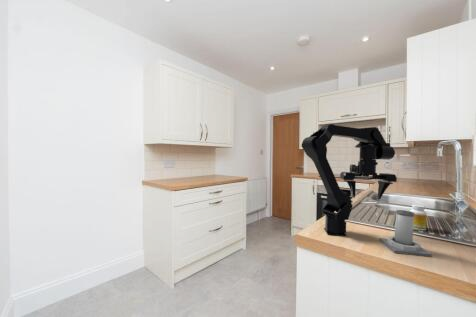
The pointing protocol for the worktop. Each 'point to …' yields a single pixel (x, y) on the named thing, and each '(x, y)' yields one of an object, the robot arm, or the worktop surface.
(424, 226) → the supplement bottle
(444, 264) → the worktop surface
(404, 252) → the ring socket board
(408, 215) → the canister
